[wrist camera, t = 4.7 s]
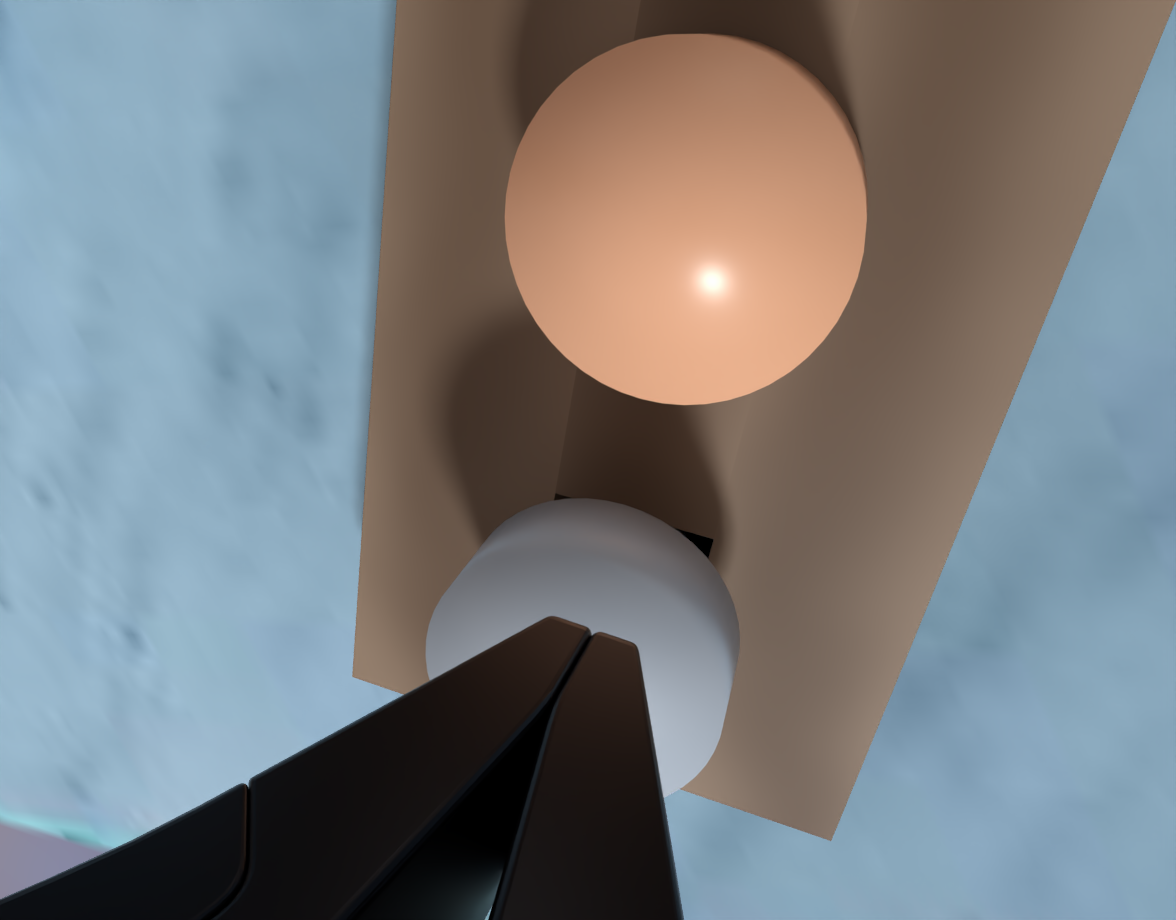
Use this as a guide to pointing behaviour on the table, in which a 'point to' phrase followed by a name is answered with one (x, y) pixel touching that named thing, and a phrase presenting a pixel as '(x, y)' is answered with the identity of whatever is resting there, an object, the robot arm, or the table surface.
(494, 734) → the robot arm
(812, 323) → the terracotta button
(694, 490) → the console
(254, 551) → the table surface
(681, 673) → the slate button
